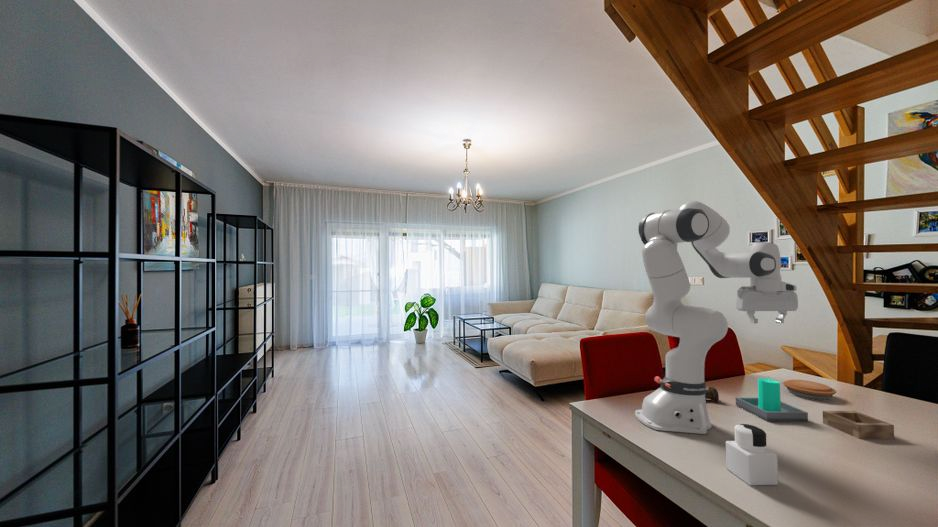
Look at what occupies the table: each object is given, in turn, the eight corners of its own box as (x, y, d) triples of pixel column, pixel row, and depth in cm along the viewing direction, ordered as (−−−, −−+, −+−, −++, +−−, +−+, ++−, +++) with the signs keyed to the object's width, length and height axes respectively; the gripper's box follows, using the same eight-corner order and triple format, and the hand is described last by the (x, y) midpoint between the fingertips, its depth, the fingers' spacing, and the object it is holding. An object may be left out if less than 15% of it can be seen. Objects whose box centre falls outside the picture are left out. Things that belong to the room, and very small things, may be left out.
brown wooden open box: (858, 438, 102) (858, 424, 102) (822, 422, 112) (822, 410, 113) (894, 438, 102) (893, 425, 102) (855, 423, 112) (854, 410, 112)
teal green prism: (772, 414, 117) (771, 379, 117) (754, 407, 123) (753, 374, 123) (785, 412, 118) (784, 378, 119) (766, 406, 124) (765, 373, 124)
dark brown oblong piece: (673, 401, 136) (715, 403, 133) (676, 399, 132) (720, 401, 129) (669, 386, 139) (710, 388, 136) (673, 384, 135) (715, 385, 132)
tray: (766, 421, 114) (766, 412, 114) (735, 405, 127) (735, 397, 127) (808, 421, 113) (807, 412, 114) (772, 405, 127) (772, 397, 127)
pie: (842, 398, 135) (842, 385, 135) (828, 405, 127) (828, 392, 127) (791, 386, 148) (791, 375, 148) (776, 393, 141) (775, 380, 141)
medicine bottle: (752, 467, 87) (751, 420, 87) (779, 485, 80) (777, 433, 80) (725, 468, 87) (724, 421, 87) (749, 486, 79) (748, 434, 80)
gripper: (744, 286, 124) (745, 324, 123) (801, 286, 123) (802, 324, 123) (731, 286, 130) (732, 322, 129) (785, 285, 129) (786, 321, 129)
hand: (766, 323), depth 126 cm, fingers open, 8 cm apart
